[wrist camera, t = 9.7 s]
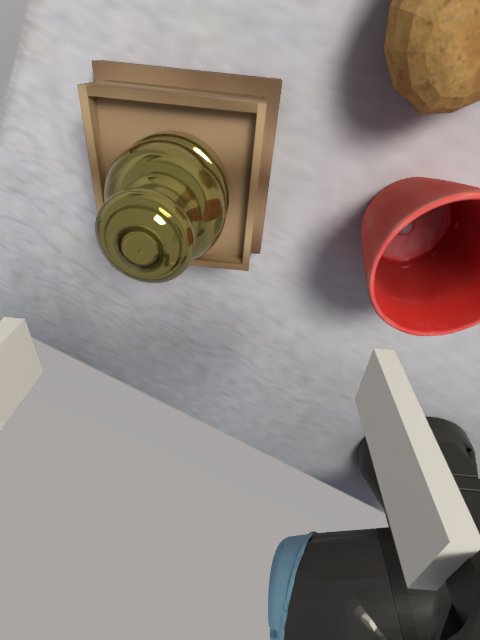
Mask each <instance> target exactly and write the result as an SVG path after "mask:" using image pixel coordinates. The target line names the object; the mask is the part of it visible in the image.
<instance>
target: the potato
mask: <svg viewBox="0 0 480 640" xmlns="http://www.w3.org/2000/svg"><path fill="white" fill-rule="evenodd" d="M384 54H385V58H386V62H387V65H388V69H389V73H390V77H391V81H392V85H393V89H395V90H396V91H397V92H398V93H399V94H401V95H402V96H403V97H404V98H406V99H407V100H408V101H409V102H410V103H411V104H412V105H413V106H414V107H415V108H416V109H417V110H418V111H419V112H420V113H421V114H431V113H450V112H454V111H456V110H458V109H461V108H463V107H465V106H468V105H470V104H472V103H475V102H477V101H479V100H480V0H392V2H391V4H390V7H389V14H388V21H387V29H386V36H385V43H384Z"/></svg>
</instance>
